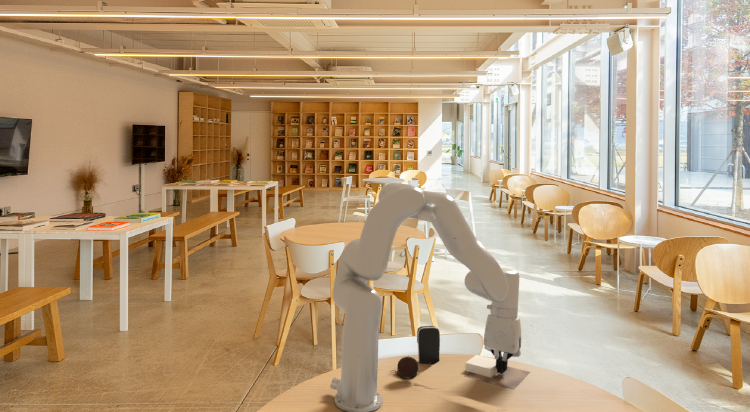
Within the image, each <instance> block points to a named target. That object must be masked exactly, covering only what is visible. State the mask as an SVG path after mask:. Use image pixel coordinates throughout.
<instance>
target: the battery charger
mask: <svg viewBox="0 0 750 412" xmlns="http://www.w3.org/2000/svg"><path fill="white" fill-rule="evenodd" d="M440 336H441V335H440V329H439V328H438V327H437V326H436V325H424V326H419V327H418V328H417V332H416V343H417V352H418V357H417V359H418V360H417V362H418V364H422V365H423V364H435V363H439V362H440V360H441V359H440V351H441V349H440V347H441V344H440V343H441V337H440Z"/></svg>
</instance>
